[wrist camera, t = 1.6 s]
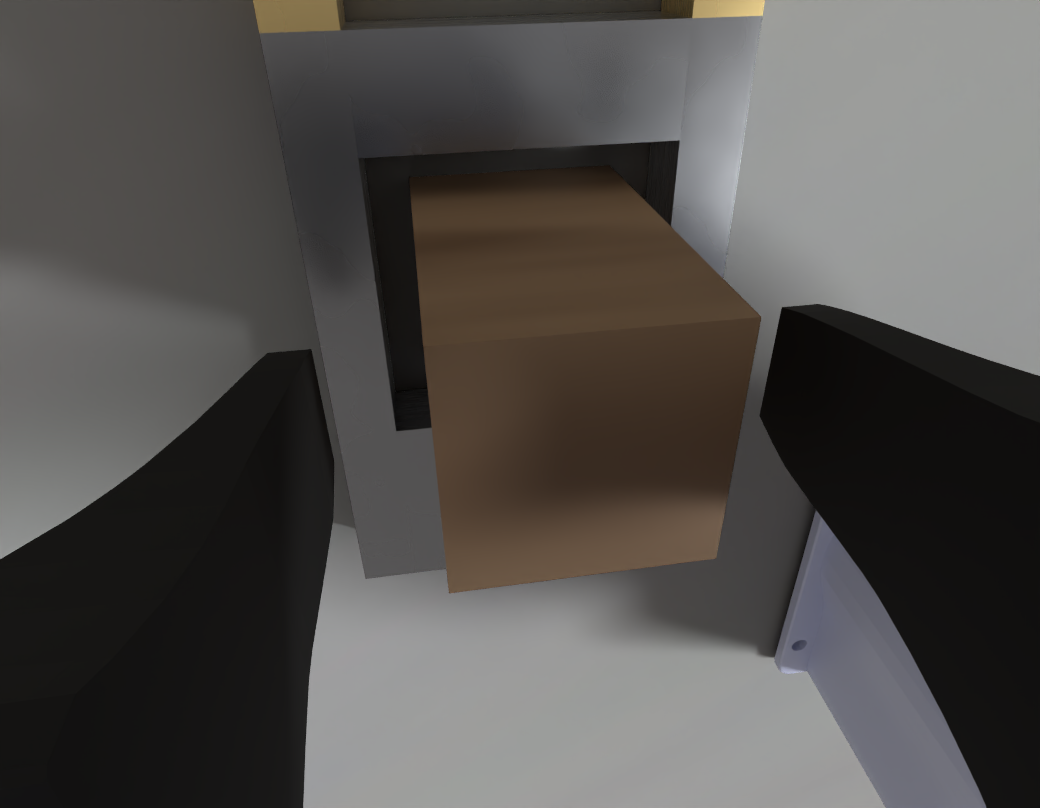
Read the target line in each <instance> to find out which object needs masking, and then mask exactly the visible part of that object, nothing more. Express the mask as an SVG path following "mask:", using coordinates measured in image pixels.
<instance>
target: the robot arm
mask: <svg viewBox="0 0 1040 808" xmlns="http://www.w3.org/2000/svg"><path fill="white" fill-rule="evenodd" d="M760 418H761V420H762V422H763V424H764V426H765V428H766V430H767V432H768V435H769V437H770V439H771V441H772V443H773V445H774V447H775V449H776V450H777V452H778V454H779V456H780V458H781V460H782V462H783V463H784V465H785V467H786V468H787V470H788V471H789V473H790V474H791V476H792V477H793V478H794V480H795V481H796V483H797V484H798V485H799V487H800V488H801V490H802V491H803V492H804V494H805V495H806V497H807V498H808V499H809V501H810V502H811V504H812V505H813V506H814V508H815V509H816V512H815V516H814V519H813V523H812V526H811V530H810V533H809V537H808V541H807V544H806V548H805V551H804V555H803V558H802V562H801V566H800V569H799V573H798V576H797V580H796V583H795V587H794V591H793V594H792V598H791V601H790V605H789V608H788V612H787V616H786V619H785V623H784V626H783V630H782V633H781V637H780V641H779V644H778V648H777V651H776V655H775V663H776V665H777V667H778V669H779V670H780V671H781V672H783V673H786V674H788V673H797V672H804V671H807V672H808V673H809V675H810V677H811V678H812V680H813V682H814V684H815V685H816V687H817V689H818V691H819V692H820V694H821V696H822V698H823V699H824V701H825V703H826V705H827V706H828V708H829V710H830V711H831V713H832V715H833V717H834V718H835V720H836V722H837V724H838V725H839V727H840V729H841V731H842V732H843V734H844V736H845V738H846V739H847V741H848V743H849V744H850V746H851V748H852V750H853V751H854V753H855V755H856V757H857V758H858V760H859V762H860V764H861V765H862V767H863V769H864V771H865V772H866V774H867V776H868V778H869V779H870V781H871V783H872V784H873V786H874V788H875V790H876V791H877V793H878V795H879V797H880V798H881V800H882V802H883V804H884V805H885V807H886V808H1040V376H1038V375H1034V374H1031V373H1028V372H1025V371H1022V370H1018V369H1015V368H1012V367H1009V366H1006V365H1003V364H999V363H996V362H993V361H990V360H987V359H984V358H981V357H978V356H975V355H972V354H969V353H966V352H963V351H960V350H958V349H955V348H952V347H949V346H946V345H943V344H941V343H938V342H935V341H932V340H929V339H927V338H924V337H921V336H918V335H916V334H913V333H910V332H907V331H904V330H902V329H899V328H896V327H893V326H890V325H888V324H885V323H882V322H879V321H876V320H873V319H870V318H868V317H864V316H861V315H858V314H855V313H852V312H849V311H845V310H842V309H838V308H834V307H830V306H825V305H821V304H814V305H803V306H792V307H782V309H781V314H780V319H779V324H778V329H777V333H776V338H775V343H774V348H773V353H772V358H771V363H770V368H769V372H768V377H767V382H766V387H765V392H764V397H763V402H762V407H761V411H760ZM333 506H334V458H333V454H332V449H331V444H330V439H329V434H328V429H327V424H326V419H325V414H324V409H323V405H322V400H321V395H320V390H319V385H318V380H317V375H316V370H315V365H314V360H313V356H312V351H311V349H308V350H297V351H286V352H274V353H267V354H266V355H265V356H264V357H262V358H261V359H260V360H259V361H258V362H257V363H256V364H255V365H254V366H253V367H252V368H251V369H250V370H249V371H248V372H247V373H246V374H245V375H244V376H243V377H242V378H241V379H240V380H239V381H238V382H237V383H235V384H234V385H233V386H232V387H231V388H230V389H229V390H228V391H227V392H226V393H225V394H224V395H223V396H222V397H221V398H220V399H219V400H218V401H217V402H216V403H215V404H214V405H213V406H212V407H210V408H209V409H208V410H207V411H206V412H205V413H204V414H203V415H202V416H201V417H200V418H199V419H198V420H197V421H196V422H195V423H193V424H192V425H191V426H190V427H189V428H188V429H186V430H185V431H184V432H183V433H182V434H180V435H179V436H178V437H177V438H176V439H175V440H173V441H172V442H171V443H170V444H169V445H168V446H166V447H165V448H164V449H163V450H162V451H160V452H159V453H158V454H157V455H156V456H155V457H153V458H152V459H151V460H150V461H149V462H148V463H146V464H145V465H144V466H142V467H141V468H140V469H139V470H137V471H136V472H135V473H133V474H132V475H131V476H129V477H128V478H127V479H125V480H124V481H123V482H121V483H120V484H119V485H117V486H116V487H115V488H113V489H112V490H110V491H109V492H107V493H106V494H104V495H103V496H102V497H100V498H99V499H97V500H96V501H94V502H93V503H91V504H90V505H89V506H87V507H86V508H84V509H83V510H81V511H80V512H78V513H77V514H75V515H74V516H72V517H71V518H69V519H67V520H66V521H64V522H63V523H61V524H59V525H58V526H56V527H54V528H52V529H51V530H49V531H47V532H46V533H44V534H42V535H41V536H39V537H37V538H36V539H34V540H32V541H31V542H29V543H27V544H25V545H24V546H22V547H20V548H19V549H17V550H15V551H14V552H12V553H10V554H9V555H7V556H5V557H4V558H2V559H0V808H303V796H304V770H305V745H306V725H307V706H308V686H309V674H310V665H311V657H312V648H313V642H314V636H315V630H316V624H317V617H318V611H319V605H320V599H321V593H322V587H323V580H324V574H325V568H326V562H327V555H328V549H329V543H330V536H331V530H332V523H333Z"/></svg>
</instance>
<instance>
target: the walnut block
mask: <svg viewBox="0 0 1040 808" xmlns="http://www.w3.org/2000/svg"><path fill="white" fill-rule="evenodd" d="M409 183H410V195H411V207H412V219H413V231H414V242H415V254H416V266H417V278H418V290H419V302H420V314H421V326H422V338H423V349H424V359H425V368H426V378H427V387H428V397H429V406H430V416H431V426H432V435H433V445H434V454H435V464H436V473H437V483H438V492H439V502H440V511H441V521H442V531H443V540H444V550H445V559H446V569H447V578H448V588H449V593H455V592H463V591H470V590H478V589H486V588H493V587H501V586H509V585H516V584H524V583H532V582H539V581H547V580H555V579H563V578H570V577H578V576H586V575H593V574H601V573H609V572H616V571H624V570H632V569H639V568H647V567H655V566H663V565H670V564H678V563H686V562H693V561H701V560H709V559H716V557H717V551H718V546H719V541H720V535H721V530H722V525H723V519H724V514H725V509H726V503H727V498H728V493H729V487H730V482H731V477H732V471H733V466H734V461H735V455H736V450H737V445H738V439H739V434H740V429H741V423H742V418H743V413H744V407H745V402H746V397H747V391H748V386H749V381H750V375H751V370H752V365H753V359H754V354H755V349H756V343H757V338H758V333H759V327H760V322H761V316H760V315H759V314H758V313H757V312H756V311H755V310H754V309H753V308H752V307H751V306H750V305H749V304H748V303H747V302H746V301H745V300H744V299H743V298H742V297H741V296H740V295H739V294H738V293H737V292H736V291H735V290H734V289H733V288H732V287H731V286H730V285H729V284H728V283H727V282H726V281H725V280H724V279H723V278H722V277H721V276H720V275H719V274H718V273H717V272H716V271H715V270H714V269H713V268H712V267H711V266H710V265H709V264H708V263H707V262H706V261H705V260H704V259H703V258H702V257H701V256H700V255H699V254H698V253H697V252H696V251H695V250H694V249H693V248H692V247H691V246H690V245H689V244H688V243H687V242H686V241H685V240H684V239H683V238H682V237H681V236H680V235H679V234H678V233H677V232H676V231H675V230H674V229H673V228H672V227H671V226H670V225H669V224H668V223H667V222H666V221H665V220H664V219H663V218H662V217H661V216H660V215H659V214H658V213H657V212H656V211H655V210H654V209H653V208H652V207H651V206H650V205H649V204H648V203H647V202H646V201H645V200H644V199H643V198H642V197H641V196H640V195H639V194H638V193H637V192H636V191H635V190H634V189H633V188H632V187H631V186H630V185H629V184H628V183H627V182H626V181H625V180H624V179H623V178H622V177H621V176H620V175H619V174H618V173H617V172H616V171H615V170H614V169H613V168H612V167H611V166H610V165H604V166H588V167H571V168H554V169H537V170H520V171H503V172H487V173H470V174H453V175H436V176H419V177H409Z"/></svg>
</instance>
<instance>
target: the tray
mask: <svg viewBox="0 0 1040 808" xmlns="http://www.w3.org/2000/svg"><path fill="white" fill-rule="evenodd" d="M764 2H765V0H662V3H661V11H637V12H607V13H576V14H546V15H516V16H486V17H455V18H425V19H395V20H365V21H346V19H345V11H344V4H343V0H253V4H254V9H255V14H256V19H257V24H258V29H259V35H260V40H261V45H262V50H263V55H264V60H265V65H266V70H267V76H268V81H269V86H270V91H271V96H272V101H273V106H274V111H275V117H276V122H277V127H278V132H279V137H280V142H281V147H282V152H283V158H284V163H285V168H286V173H287V178H288V183H289V188H290V193H291V199H292V204H293V209H294V214H295V219H296V224H297V229H298V235H299V240H300V245H301V250H302V255H303V260H304V265H305V270H306V276H307V281H308V286H309V291H310V296H311V301H312V306H313V311H314V317H315V322H316V327H317V332H318V337H319V342H320V347H321V352H322V358H323V363H324V368H325V373H326V378H327V383H328V388H329V393H330V399H331V404H332V409H333V414H334V419H335V424H336V429H337V435H338V440H339V445H340V450H341V455H342V460H343V465H344V470H345V476H346V481H347V486H348V491H349V496H350V501H351V506H352V511H353V517H354V522H355V527H356V532H357V537H358V542H359V547H360V552H361V558H362V563H363V568H364V573H365V578H366V579H367V578H375V577H383V576H391V575H399V574H407V573H415V572H423V571H431V570H439V569H446V559H445V550H444V540H443V531H442V521H441V511H440V502H439V492H438V483H437V473H436V464H435V454H434V445H433V435H432V426H431V416H430V406H429V397H428V389H419V390H408V391H398V392H396V391H395V384H394V376H393V369H392V361H391V354H390V346H389V339H388V332H387V324H386V317H385V309H384V302H383V294H382V287H381V279H380V272H379V265H378V257H377V250H376V242H375V235H374V227H373V220H372V212H371V205H370V198H369V190H368V183H367V175H366V168H365V160H364V158H372V157H390V156H408V155H426V154H444V153H461V152H479V151H497V150H515V149H533V148H551V147H569V146H587V145H605V144H623V143H641V142H650V153H649V165H648V178H647V190H646V202H647V203H648V204H649V205H650V206H651V207H652V208H653V209H654V210H655V211H656V212H657V213H658V214H659V215H660V216H661V217H662V218H663V219H664V220H665V221H666V222H667V223H668V224H669V225H670V226H671V227H672V228H673V229H674V230H675V231H676V232H677V233H678V234H679V235H680V236H681V237H682V238H683V239H684V240H685V241H686V242H687V243H688V244H689V245H690V246H691V247H692V248H693V249H694V250H695V251H696V252H697V253H698V254H699V255H700V256H701V257H702V258H703V259H704V260H705V261H706V262H707V263H708V264H709V265H710V266H711V267H712V268H713V269H714V270H715V271H716V272H717V273H718V274H719V275H720V276H721V277H722V278H723V276H724V270H725V263H726V256H727V250H728V243H729V236H730V230H731V223H732V216H733V210H734V203H735V196H736V189H737V183H738V176H739V169H740V163H741V156H742V149H743V143H744V136H745V129H746V123H747V116H748V109H749V103H750V96H751V89H752V82H753V76H754V69H755V62H756V56H757V49H758V42H759V36H760V29H761V22H762V16H763V9H764Z"/></svg>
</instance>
